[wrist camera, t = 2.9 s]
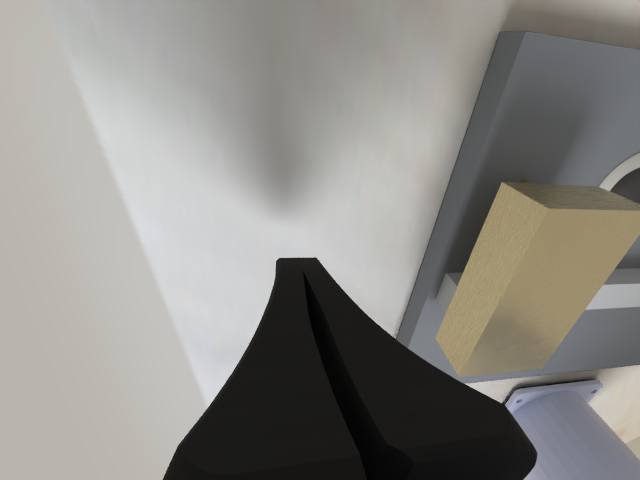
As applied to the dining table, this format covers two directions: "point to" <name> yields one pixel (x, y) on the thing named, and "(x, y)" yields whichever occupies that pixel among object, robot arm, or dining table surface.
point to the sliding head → (534, 274)
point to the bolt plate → (541, 168)
